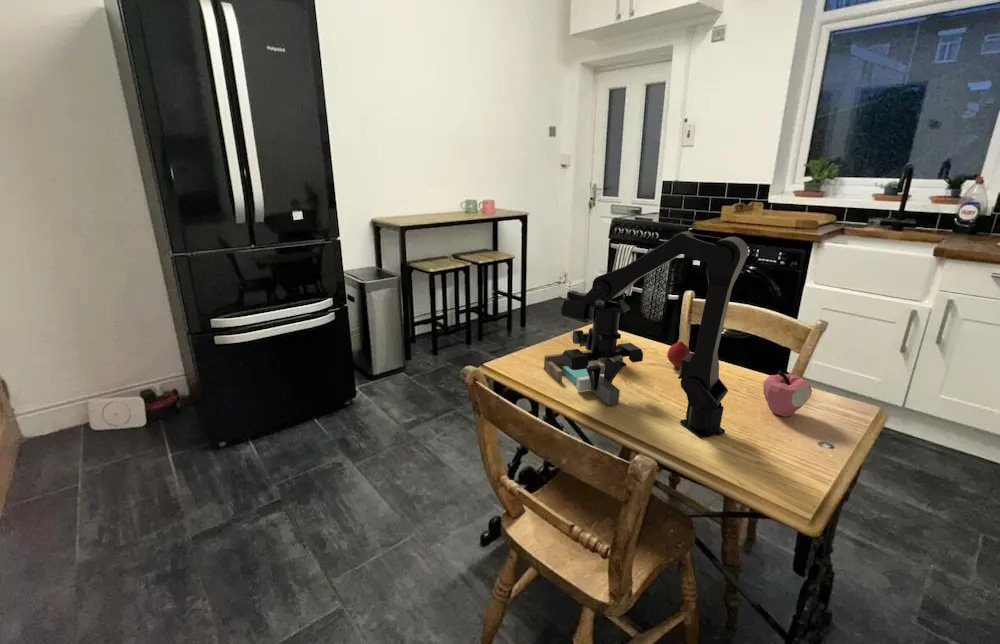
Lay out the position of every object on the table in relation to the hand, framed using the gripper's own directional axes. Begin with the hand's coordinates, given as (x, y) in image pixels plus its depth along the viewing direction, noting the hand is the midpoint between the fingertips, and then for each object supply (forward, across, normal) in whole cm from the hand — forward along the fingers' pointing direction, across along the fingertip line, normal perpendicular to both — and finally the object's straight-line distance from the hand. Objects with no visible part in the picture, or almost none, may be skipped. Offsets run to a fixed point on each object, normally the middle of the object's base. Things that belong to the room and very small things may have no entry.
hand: (599, 389), depth 114 cm
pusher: (+1, 0, +1) cm, 2 cm away
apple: (+2, -35, +20) cm, 40 cm away
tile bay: (+1, 0, -12) cm, 13 cm away
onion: (+2, -29, -8) cm, 30 cm away
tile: (+2, 0, -10) cm, 10 cm away
